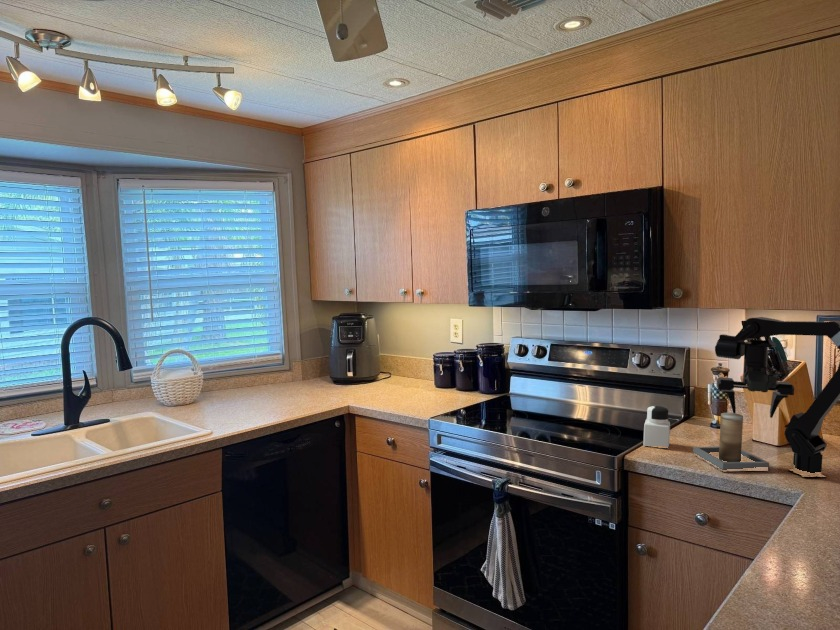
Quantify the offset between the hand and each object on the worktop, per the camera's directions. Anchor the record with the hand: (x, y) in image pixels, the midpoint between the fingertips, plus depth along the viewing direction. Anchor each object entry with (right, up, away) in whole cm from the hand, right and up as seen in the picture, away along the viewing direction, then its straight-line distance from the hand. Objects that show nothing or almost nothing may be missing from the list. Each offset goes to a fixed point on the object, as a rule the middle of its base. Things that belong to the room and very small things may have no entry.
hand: (752, 415), depth 169 cm
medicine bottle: (-21, -12, +15) cm, 29 cm away
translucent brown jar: (-7, -12, -2) cm, 14 cm away
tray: (-7, -13, -2) cm, 15 cm away
